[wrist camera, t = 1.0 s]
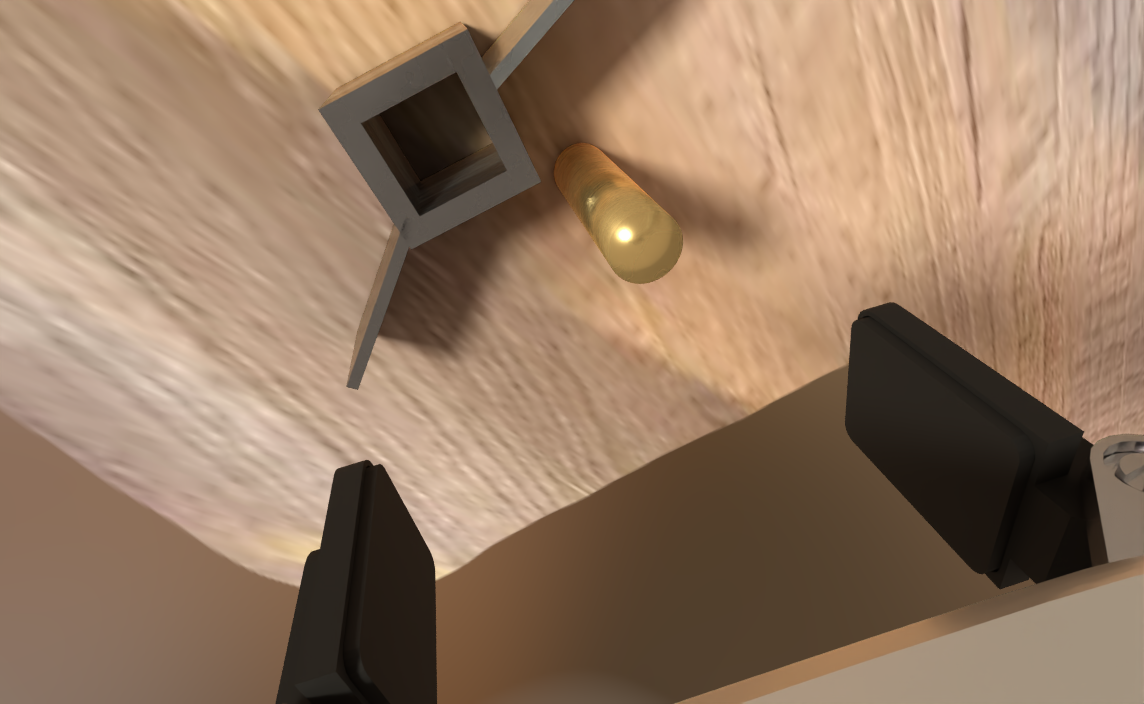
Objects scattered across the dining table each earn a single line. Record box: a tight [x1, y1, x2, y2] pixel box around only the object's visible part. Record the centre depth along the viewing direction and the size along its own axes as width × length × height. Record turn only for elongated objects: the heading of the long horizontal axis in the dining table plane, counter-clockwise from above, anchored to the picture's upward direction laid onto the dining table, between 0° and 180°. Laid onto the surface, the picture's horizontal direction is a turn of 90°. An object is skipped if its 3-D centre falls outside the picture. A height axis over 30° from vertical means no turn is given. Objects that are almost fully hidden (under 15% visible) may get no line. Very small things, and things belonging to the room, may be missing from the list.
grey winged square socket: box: [318, 0, 574, 390], centre depth 30 cm, size 21×13×6 cm, turn 114°
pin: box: [554, 143, 683, 284], centre depth 29 cm, size 3×3×12 cm
